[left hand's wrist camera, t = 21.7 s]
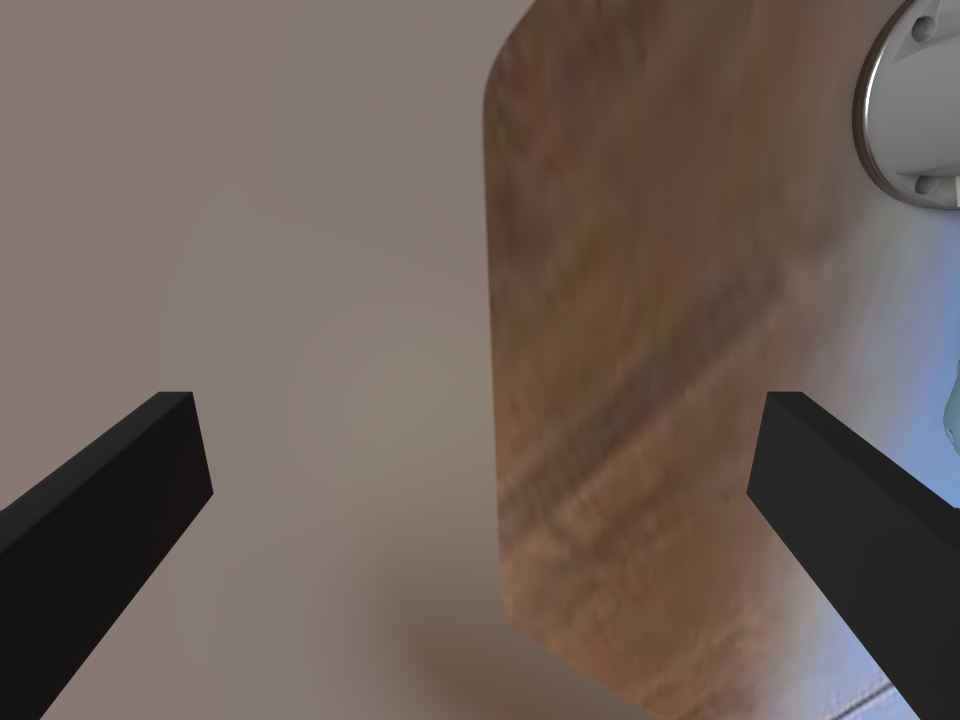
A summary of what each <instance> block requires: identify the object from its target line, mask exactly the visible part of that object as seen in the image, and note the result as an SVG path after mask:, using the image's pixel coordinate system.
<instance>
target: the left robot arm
mask: <svg viewBox="0 0 960 720" xmlns="http://www.w3.org/2000/svg"><path fill="white" fill-rule="evenodd" d="M852 130H853V138H854V143H855V148H856V151H857V154H858V157H859V159H860V161H861V163H862V166H863V168H864V169H865V171H866V172H867V174H868V176H869V177H870V178H871V179H872V180H873V182H874V183H875V184H876V185H877V186H878V187H879V188H880V189H881V190H883V191H884V192H886V193H887V194H888V195H890V196H892V197H893V198H895V199H897V200H899V201H902V202H904V203H907V204H911V205H914V206H920V207H926V208H934V209H941V210H960V0H906V1H905V2H904V3H903V4H902V5H901V6H900V7H899V8H898V9H897V11H896V12H895V13H894V14H893V15H892V16H891V18H890V19H889V20H888V22H887V23H886V24H885V26H884V27H883V28H882V30H881V32H880V33H879V35H878V36H877V38H876V39H875V41H874V43H873V45H872V47H871V49H870V51H869V52H868V55H867V57H866V59H865V61H864V64H863V66H862V69H861V72H860V75H859V78H858V81H857V85H856V89H855V94H854V100H853V109H852ZM943 422H944V429H945V432H946V434H947V436H948V438H949V440H950V442H951V443H952V444H953V446H954V447H955V449H956V451H957V453H958V454H959V455H960V359H959V361H958V376H957V379H956V382H955V385H954V387H953V390H952V392H951V395H950V398H949V400H948V403H947V405H946V408H945V411H944V418H943ZM746 494H747V495H748V496H749V498H750V499H751V500H752V502H753V503H754V504H755V506H756V507H757V508H758V509H759V511H760V512H761V513H762V515H763V516H764V517H765V519H766V520H767V521H768V522H769V524H770V525H771V526H772V528H773V529H774V530H775V532H776V533H777V534H778V535H779V537H780V538H781V539H782V541H783V542H784V543H785V544H786V546H787V547H788V548H789V550H790V551H791V552H792V554H793V555H794V556H795V557H796V559H797V560H798V561H799V563H800V564H801V565H802V567H803V568H804V569H805V570H806V572H807V573H808V574H809V576H810V577H811V578H812V580H813V581H814V582H815V583H816V585H817V586H818V587H819V589H820V590H821V591H822V593H823V594H824V595H825V596H826V598H827V599H828V600H829V602H830V603H831V604H832V606H833V607H834V608H835V609H836V611H837V612H838V613H839V615H840V616H841V617H842V619H843V620H844V621H845V622H846V624H847V625H848V626H849V628H850V629H851V630H852V631H853V633H854V634H855V635H856V637H857V638H858V639H859V641H860V642H861V643H862V644H863V646H864V647H865V648H866V650H867V651H868V652H869V654H870V655H871V656H872V657H873V659H874V660H875V661H876V663H877V664H878V665H879V667H880V668H881V669H882V670H883V672H884V673H885V674H886V676H887V677H888V678H889V680H890V681H891V682H892V683H893V685H894V686H895V687H896V689H897V690H898V691H899V693H900V694H901V695H902V696H903V698H904V699H905V700H906V702H907V703H908V704H909V705H910V707H911V708H912V709H913V711H914V712H915V713H916V715H917V716H918V717H919V718H920V720H960V509H959V508H954V507H952V506H951V505H950V504H948V503H947V502H946V501H945V500H943V499H942V498H941V497H939V496H938V495H937V494H935V493H934V492H933V491H931V490H930V489H929V488H927V487H926V486H925V485H923V484H922V483H921V482H919V481H918V480H917V479H916V478H914V477H913V476H912V475H910V474H909V473H908V472H906V471H905V470H904V469H902V468H901V467H900V466H898V465H897V464H896V463H894V462H893V461H892V460H891V459H889V458H888V457H887V456H885V455H884V454H883V453H881V452H880V451H879V450H877V449H876V448H875V447H873V446H872V445H871V444H869V443H868V442H867V441H865V440H864V439H863V438H862V437H860V436H859V435H858V434H856V433H855V432H854V431H852V430H851V429H850V428H848V427H847V426H846V425H844V424H843V423H842V422H840V421H839V420H838V419H836V418H835V417H834V416H833V415H831V414H830V413H829V412H827V411H826V410H825V409H823V408H822V407H821V406H819V405H818V404H817V403H815V402H814V401H813V400H811V399H810V398H809V397H808V396H806V395H805V394H804V393H802V392H767V397H766V402H765V407H764V412H763V416H762V421H761V426H760V431H759V436H758V440H757V445H756V450H755V455H754V460H753V464H752V469H751V474H750V479H749V484H748V488H747V493H746ZM212 495H213V488H212V484H211V479H210V474H209V469H208V464H207V460H206V455H205V450H204V445H203V440H202V436H201V431H200V426H199V421H198V416H197V412H196V407H195V402H194V397H193V393H192V392H158V393H157V394H155V395H154V396H152V397H151V398H150V399H149V400H147V401H146V402H145V403H143V404H142V405H141V406H139V407H138V408H137V409H135V410H134V411H133V412H131V413H130V414H129V415H127V416H126V417H125V418H123V419H122V420H121V421H120V422H118V423H117V424H116V425H114V426H113V427H112V428H110V429H109V430H108V431H106V432H105V433H104V434H102V435H101V436H100V437H99V438H97V439H96V440H95V441H93V442H92V443H91V444H89V445H88V446H87V447H85V448H84V449H83V450H81V451H80V452H79V453H77V454H76V455H75V456H73V457H72V458H71V459H69V460H68V461H67V462H66V463H64V464H63V465H62V466H60V467H59V468H58V469H56V470H55V471H54V472H52V473H51V474H50V475H49V476H47V477H46V478H44V479H43V480H42V481H41V482H39V483H38V484H37V485H35V486H34V487H33V488H31V489H30V490H29V491H27V492H26V493H25V494H23V495H22V496H21V497H19V498H18V499H17V500H16V501H14V502H13V503H12V504H10V505H9V506H8V507H6V508H5V509H4V510H1V511H0V720H40V718H41V717H42V716H43V715H44V713H45V712H46V711H47V709H48V708H49V707H50V705H51V704H52V703H53V702H54V700H55V699H56V698H57V696H58V695H59V694H60V692H61V691H62V690H63V689H64V687H65V686H66V685H67V683H68V682H69V681H70V680H71V678H72V677H73V676H74V674H75V673H76V672H77V670H78V669H79V668H80V667H81V665H82V664H83V663H84V661H85V660H86V659H87V657H88V656H89V655H90V653H91V652H92V651H93V650H94V648H95V647H96V646H97V644H98V643H99V642H100V641H101V639H102V638H103V637H104V635H105V634H106V633H107V631H108V630H109V629H110V628H111V626H112V625H113V624H114V622H115V621H116V620H117V618H118V617H119V616H120V615H121V613H122V612H123V611H124V609H125V608H126V607H127V605H128V604H129V603H130V602H131V600H132V599H133V598H134V596H135V595H136V594H137V592H138V591H139V590H140V589H141V587H142V586H143V585H144V583H145V582H146V581H147V580H148V578H149V577H150V576H151V574H152V573H153V572H154V570H155V569H156V568H157V567H158V565H159V564H160V563H161V561H162V560H163V559H164V557H165V556H166V555H167V554H168V552H169V551H170V550H171V548H172V547H173V546H174V544H175V543H176V542H177V541H178V539H179V538H180V537H181V535H182V534H183V533H184V532H185V530H186V529H187V528H188V526H189V525H190V524H191V522H192V521H193V520H194V519H195V517H196V516H197V515H198V513H199V512H200V511H201V509H202V508H203V507H204V506H205V504H206V503H207V502H208V500H209V499H210V498H211V496H212Z"/></svg>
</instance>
